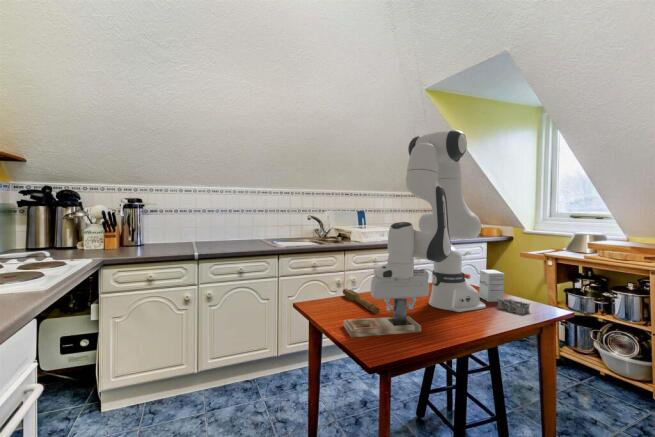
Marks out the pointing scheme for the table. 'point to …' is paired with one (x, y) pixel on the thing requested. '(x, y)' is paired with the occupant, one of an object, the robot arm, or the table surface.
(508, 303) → the egg carton
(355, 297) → the turned wooden spindle
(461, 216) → the robot arm
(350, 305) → the table surface
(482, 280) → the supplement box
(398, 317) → the steel peg
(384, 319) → the beige flat frame
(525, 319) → the table surface
